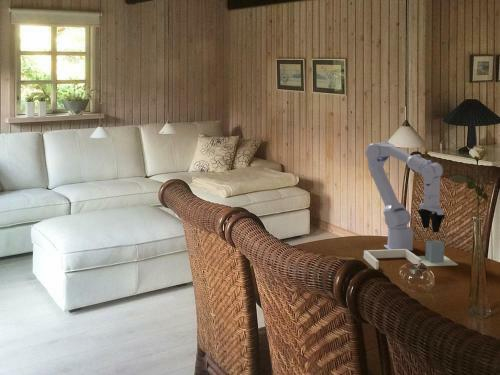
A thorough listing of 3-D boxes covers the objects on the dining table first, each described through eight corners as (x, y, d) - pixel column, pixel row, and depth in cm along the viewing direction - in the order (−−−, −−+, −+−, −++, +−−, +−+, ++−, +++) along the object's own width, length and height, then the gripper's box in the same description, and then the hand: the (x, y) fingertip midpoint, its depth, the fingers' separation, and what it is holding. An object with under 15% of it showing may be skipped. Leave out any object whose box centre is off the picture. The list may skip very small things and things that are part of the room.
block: (437, 258, 230) (438, 240, 229) (443, 262, 226) (444, 243, 224) (425, 258, 230) (426, 240, 229) (430, 262, 225) (431, 244, 224)
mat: (443, 255, 234) (443, 255, 234) (458, 265, 223) (458, 264, 223) (413, 257, 233) (413, 256, 233) (426, 266, 221) (426, 265, 221)
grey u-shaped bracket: (406, 256, 234) (406, 248, 233) (420, 267, 220) (421, 259, 220) (363, 258, 232) (363, 250, 231) (375, 269, 218) (376, 261, 218)
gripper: (413, 192, 236) (412, 226, 239) (431, 198, 222) (430, 234, 225) (429, 191, 238) (428, 225, 240) (448, 197, 224) (447, 233, 226)
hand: (430, 229), depth 232 cm, fingers open, 7 cm apart
